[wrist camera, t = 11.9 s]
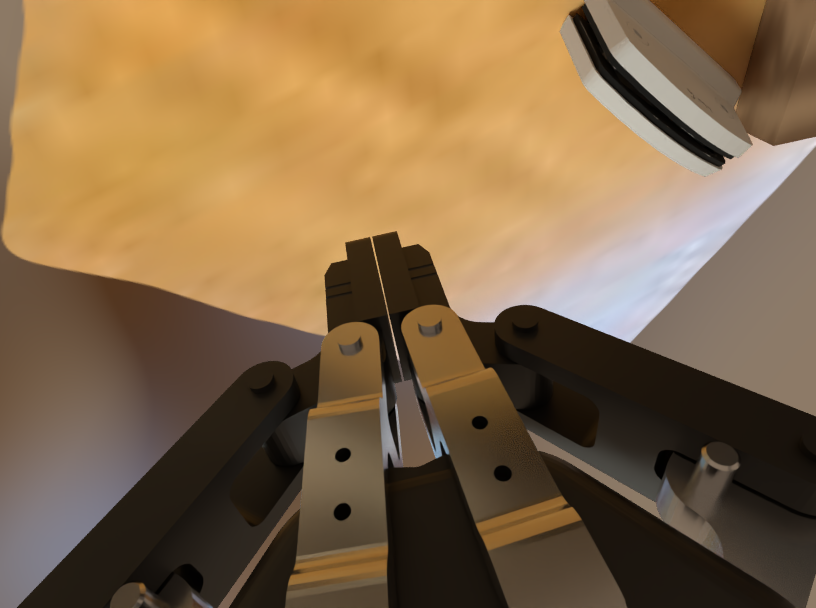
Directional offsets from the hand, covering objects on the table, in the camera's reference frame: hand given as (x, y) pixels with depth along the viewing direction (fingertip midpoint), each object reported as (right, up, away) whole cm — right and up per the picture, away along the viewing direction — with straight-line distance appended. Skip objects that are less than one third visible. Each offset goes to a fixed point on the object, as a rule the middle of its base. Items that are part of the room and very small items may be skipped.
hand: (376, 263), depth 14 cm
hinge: (+20, +18, +26) cm, 37 cm away
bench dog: (+31, +20, +26) cm, 45 cm away
